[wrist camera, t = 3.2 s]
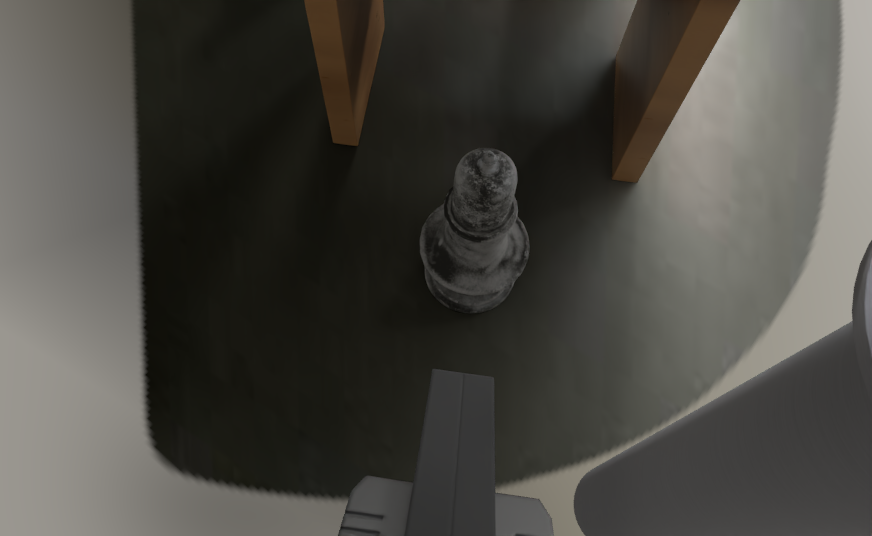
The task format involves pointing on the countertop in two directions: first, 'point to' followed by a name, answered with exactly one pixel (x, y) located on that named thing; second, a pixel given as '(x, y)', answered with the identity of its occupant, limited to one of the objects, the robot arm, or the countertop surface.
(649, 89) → the desk
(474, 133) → the countertop surface
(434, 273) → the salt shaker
